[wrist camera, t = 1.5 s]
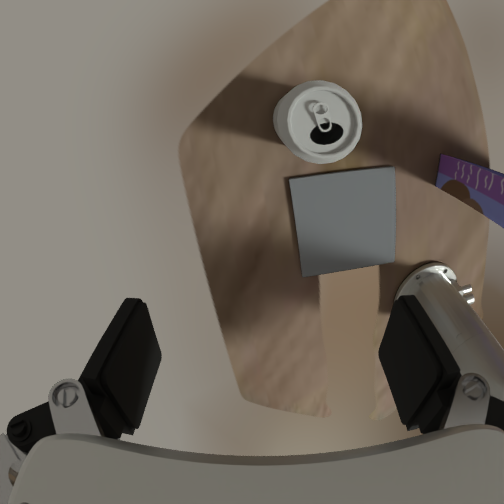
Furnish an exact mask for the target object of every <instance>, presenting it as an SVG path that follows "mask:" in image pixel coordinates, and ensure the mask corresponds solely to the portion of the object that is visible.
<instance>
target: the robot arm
mask: <svg viewBox="0 0 504 504" xmlns="http://www.w3.org/2000/svg"><path fill="white" fill-rule="evenodd" d="M471 291H472V287H471V285H470V284H469V285H465V286H463V287H461V286H459V285H458V284H457V279H456V276H455V273H454V272H453V270H452V269H451V268H450V267H449V266H447V265H445V264H443V263H429V264H426V265H424V266H421V267H420V268H418V269H416V270H415V271H414V272H412V273H411V274H410V275H409V276H408V277H407V278H406V279H405V280H404V281H403V283H402V284H401V285H400V287H399V289H398V291H397V293H396V296H395V299H394V304H393V308H392V311H391V314H390V318H389V321H388V324H387V327H386V330H385V333H384V336H383V339H382V342H381V345H380V348H379V352H378V353H379V359H380V362H381V364H382V367H383V370H384V373H385V375H386V378H387V381H388V384H389V386H390V389H391V392H392V395H393V398H394V401H395V404H396V407H397V410H398V413H399V416H400V419H401V422H402V423H403V424H404V425H405V424H406V427H407V430H408V431H410V430H413V429H417V428H420V431H421V435H419V436H415V437H411V438H407V439H403V440H399V441H394V442H390V443H385V444H381V445H375V446H370V447H364V448H358V449H352V450H345V451H337V452H328V453H319V454H307V455H291V456H233V455H215V454H204V453H194V452H185V451H177V450H171V449H164V448H158V447H152V446H146V445H141V444H135V443H130V442H126V441H121V440H120V437H121V434H122V433H125V434H129V435H133V434H134V430H135V429H138V428H139V426H140V423H141V420H142V417H143V414H144V411H145V407H146V404H147V401H148V398H149V395H150V392H151V389H152V386H153V383H154V379H155V376H156V374H157V370H158V368H159V365H160V361H161V351H160V347H159V344H158V341H157V338H156V335H155V331H154V328H153V325H152V321H151V318H150V315H149V312H148V308H147V305H146V303H143V302H142V300H141V299H139V298H126V299H125V300H124V302H123V303H122V305H121V306H120V308H119V310H118V311H117V313H116V315H115V316H114V318H113V320H112V321H111V323H110V325H109V326H108V328H107V330H106V331H105V333H104V335H103V336H102V338H101V340H100V341H99V343H98V345H97V347H96V349H95V350H94V352H93V354H92V356H91V357H90V359H89V361H88V363H87V365H86V367H85V368H84V370H83V372H82V374H81V376H80V378H79V380H78V381H77V380H74V379H64V380H61V381H59V382H57V383H56V384H55V385H54V386H53V387H52V388H51V390H50V392H49V396H48V399H49V401H48V402H46V403H44V404H42V405H39V406H37V407H35V408H32V409H30V410H28V411H25V412H24V413H21V414H19V415H17V416H15V417H13V418H12V419H11V421H10V422H9V424H8V427H7V434H6V435H5V434H4V433H2V434H1V435H0V504H504V350H503V348H502V347H501V346H500V344H499V343H498V342H497V340H496V339H495V337H494V336H493V335H492V333H491V332H490V331H489V329H488V328H487V327H486V325H485V324H484V323H483V321H482V320H481V319H480V317H479V316H478V315H477V313H476V312H475V311H474V310H473V308H472V307H471V306H470V304H473V303H474V296H473V294H472V293H470V294H467V295H463V294H464V293H469V292H471Z"/></svg>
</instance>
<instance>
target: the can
mask: <svg viewBox="0 0 504 504" xmlns="http://www.w3.org/2000/svg"><path fill="white" fill-rule="evenodd" d="M273 123H274V129H275V131H276V133H277V135H278V136H279V138H280V139H281V140H282V142H283V143H284V144H285V145H286V146H287V147H288V148H289V149H290V150H291V151H292V152H293V154H294V155H296V156H298V157H300V158H302V159H303V160H305V161H308V162H313V163H317V164H324V163H333V162H335V161H337V160H340V159H342V158H344V157H345V156H347V155H348V154H349V153H350V152H351V151H352V150H353V149H354V148H355V146H356V144H357V143H358V141H359V139H360V135H361V131H362V117H361V112H360V110H359V107H358V105H357V103H356V101H355V100H354V99H353V97H352V96H351V95H350V94H349V93H348V92H347V91H346V90H345V89H343V88H341V87H340V86H338V85H336V84H334V83H331V82H327V81H323V80H318V81H307V82H305V83H302V84H300V85H297V86H295V87H294V88H293V89H292V90H291V91H289V92H288V93H287V94H286V95H285V96H284V97H283V98H281V99H280V100H279V102H278V103H277V105H276V107H275V109H274V114H273Z"/></svg>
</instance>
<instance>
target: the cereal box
mask: <svg viewBox="0 0 504 504" xmlns="http://www.w3.org/2000/svg"><path fill="white" fill-rule="evenodd" d="M435 186H436V187H438V188H440V189H441V190H443V191H445V192H447V193H449V194H450V195H452V196H454V197H455V198H457V199H459V200H461V201H462V202H464V203H466V204H467V205H469V206H470V207H472V208H474V209H475V210H477V211H478V212H480V213H482V214H483V215H485V216H486V217H488V218H489V219H491V220H492V221H494V222H495V223H497V224H498V225H500V226H501V227H503V228H504V174H502V173H500V172H497V171H494V170H491V169H489V168H486V167H483V166H480V165H477V164H474V163H471V162H467V161H464V160H461V159H458V158H454V157H451V156H447V155H444V154H440V159H439V166H438V171H437V177H436V182H435Z"/></svg>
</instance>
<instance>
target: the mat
mask: <svg viewBox="0 0 504 504" xmlns="http://www.w3.org/2000/svg"><path fill="white" fill-rule="evenodd" d="M289 183H290V190H291V196H292V203H293V210H294V217H295V224H296V231H297V239H298V246H299V254H300V262H301V270H302V277H308V276H315V275H321V274H327V273H333V272H339V271H345V270H351V269H357V268H363V267H368V266H374V265H380V264H385V263H391V262H394V260H395V237H396V187H395V167H393V166H389V167H378V168H368V169H358V170H349V171H341V172H333V173H325V174H317V175H310V176H303V177H296V178H289Z"/></svg>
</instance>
